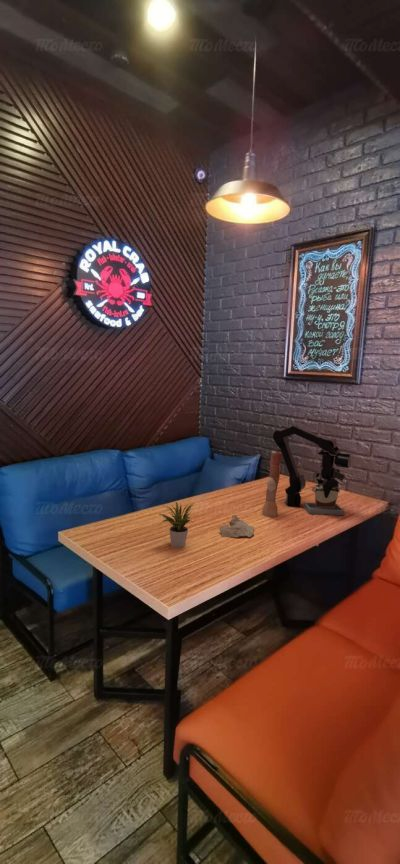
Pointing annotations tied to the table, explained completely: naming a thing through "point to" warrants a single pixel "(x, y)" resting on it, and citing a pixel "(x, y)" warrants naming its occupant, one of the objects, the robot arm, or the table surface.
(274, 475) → the tall figurine
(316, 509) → the grey tray
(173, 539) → the house plant
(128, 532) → the table surface
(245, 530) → the coral
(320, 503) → the food container
